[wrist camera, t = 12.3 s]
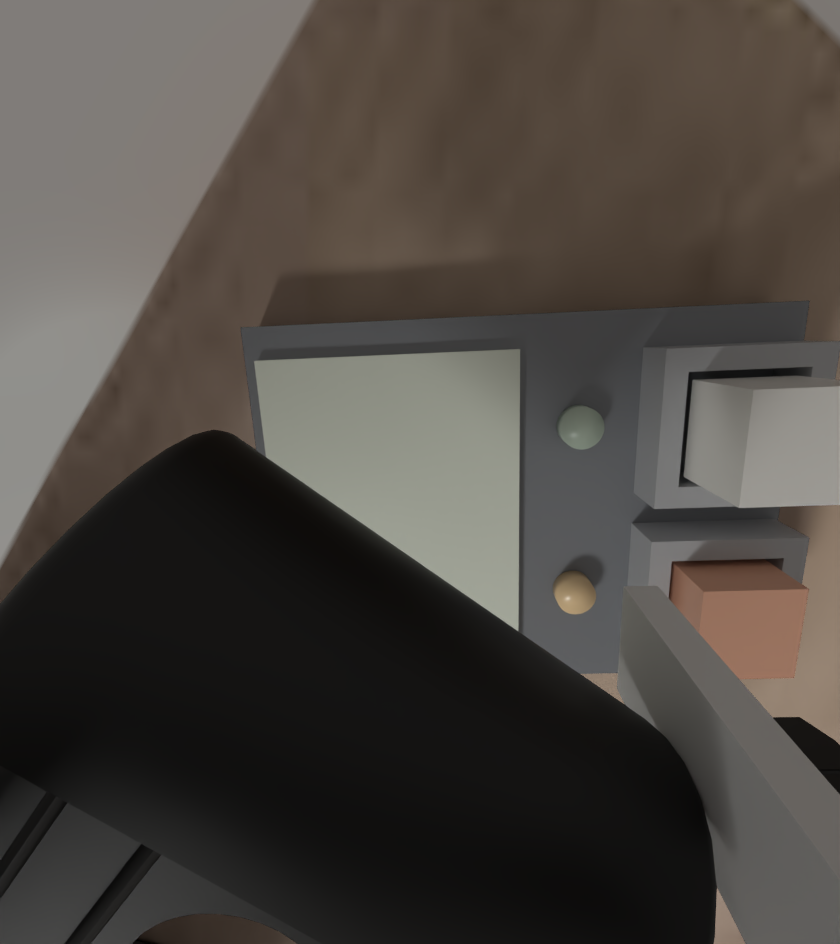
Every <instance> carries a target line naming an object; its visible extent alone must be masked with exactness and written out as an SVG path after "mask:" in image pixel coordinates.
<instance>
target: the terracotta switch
mask: <svg viewBox="0 0 840 944" xmlns="http://www.w3.org/2000/svg"><path fill="white" fill-rule="evenodd" d="M808 592H809V589H808V588H807V587H805V586H804V585H802V584H801V583H799V582H798V581H796V580H795V579H793V578H792V577H790V576H789V575H787V574H786V573H784V572H783V571H781V570H780V569H778V568H777V567H775V566H774V565H773V564H771V563H770V562H768V561H767V560H765V559H740V560H703V561H672V564H671V575H670V587H669V599H670V601H671V602H672V603H673V604H674V605H675V606H676V607H677V609H678V610H679V611H680V612H681V613H682V614H683V615H684V617H685V618H686V619H687V620H688V621H689V622H690V624H691V625H692V626H693V627H694V628H695V629H696V630H697V632H698V633H699V634H700V635H701V636H702V637H703V638H704V640H705V641H706V642H707V643H708V644H709V645H710V646H711V648H712V649H713V650H714V651H715V652H716V653H717V654H718V656H719V657H720V658H721V659H722V660H723V661H724V662H725V664H726V665H727V666H728V667H729V668H730V669H731V671H732V672H733V673H734V674H735V675H736V676H737V677H738V679H771V678H794V676H795V670H796V664H797V658H798V652H799V646H800V640H801V634H802V628H803V622H804V616H805V610H806V604H807V598H808Z"/></svg>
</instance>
